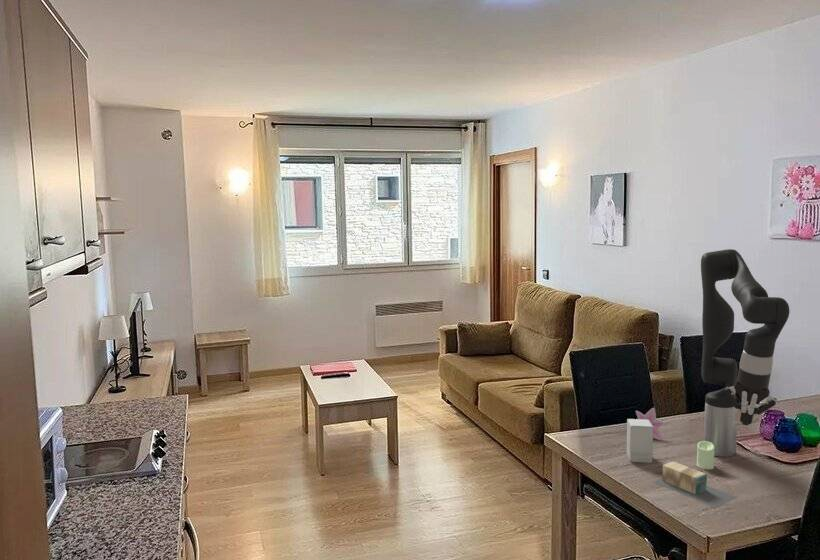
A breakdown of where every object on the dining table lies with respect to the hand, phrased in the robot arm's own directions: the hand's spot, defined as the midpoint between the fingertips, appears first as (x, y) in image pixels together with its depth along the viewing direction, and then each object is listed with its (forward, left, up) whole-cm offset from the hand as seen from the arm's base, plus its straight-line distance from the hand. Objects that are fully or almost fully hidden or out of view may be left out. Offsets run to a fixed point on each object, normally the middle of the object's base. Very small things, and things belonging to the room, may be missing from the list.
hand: (745, 423), depth 168 cm
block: (+6, -9, -21) cm, 24 cm away
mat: (+7, -12, -24) cm, 28 cm away
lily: (-1, -55, -25) cm, 60 cm away
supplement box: (+11, -37, -25) cm, 46 cm away
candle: (-6, -26, -25) cm, 36 cm away
